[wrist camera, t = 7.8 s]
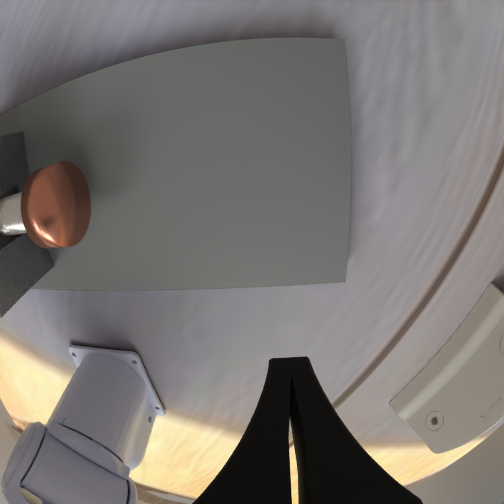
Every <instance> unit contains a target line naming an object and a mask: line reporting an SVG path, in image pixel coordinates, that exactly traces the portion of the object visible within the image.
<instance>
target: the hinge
mask: <svg viewBox="0 0 504 504" xmlns="http://www.w3.org/2000/svg"><path fill="white" fill-rule="evenodd" d="M389 404H390V406H391V407H392V409H393V411H394V412H395V414H396V415H397V416H399V417H401V418H403V419H405V420H406V421H407V422H408V423H409V425H410V426H411V427H412V428H413V429H414V431H415V432H416V433H417V434H418V435H419V437H420V438H421V439H422V440H423V441H424V443H425V444H426V445H427V446H428V447H429V449H430V450H431V451H432V452H434V453H443V452H446V451H449V450H452V449H455V448H457V447H460V446H462V445H464V444H466V443H468V442H470V441H472V440H474V439H476V438H477V437H479V436H481V435H482V434H484V433H485V432H487V431H488V430H489V429H491V428H492V427H493V426H494V425H496V424H497V423H498V422H499V421H500V420H501V419H502V418H503V417H504V293H502V292H501V291H500V290H499V289H498V288H497V287H496V286H495V285H494V284H492V283H490V284H489V286H488V287H487V289H486V290H485V292H484V293H483V295H482V296H481V298H480V299H479V300H478V302H477V303H476V305H475V306H474V308H473V309H472V310H471V312H470V313H469V314H468V316H467V317H466V318H465V320H464V321H463V322H462V324H461V325H460V326H459V328H458V329H457V330H456V331H455V333H454V334H453V335H452V336H451V338H450V339H449V340H448V341H447V342H446V344H445V345H444V346H443V347H442V348H441V350H440V351H439V352H438V353H437V354H436V355H435V356H434V358H433V359H432V360H431V361H430V362H429V363H428V364H427V365H426V366H425V367H424V369H423V370H422V371H421V372H420V373H419V374H418V375H417V376H416V377H415V378H414V379H413V380H412V381H411V382H410V383H409V384H408V385H407V386H406V387H405V388H404V389H403V390H402V391H401V392H400V393H399V394H398V395H397V396H396V397H395V398H394V399H392V400H391V401H390V402H389Z"/></svg>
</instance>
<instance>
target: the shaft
mask: <svg viewBox="0 0 504 504" xmlns="http://www.w3.org/2000/svg"><path fill="white" fill-rule="evenodd" d="M90 216H91V198H90V192H89V187H88V184H87V181H86V179H85V177H84V175H83V173H82V172H81V170H80V169H79V168H78V167H77V166H76V165H75V164H73V163H71V162H69V161H61V162H58V163H54V164H51V165H48V166H44V167H41V168H39V169H36V170H35V171H34V172H33V173H32V174H31V175H30V176H29V177H28V179H27V180H26V182H25V185H24V187H23V191H22V192H19V193H16V194H12V195H9V196H6V197H3V198H0V237H3V236H9V235H16V234H22V233H27V234H28V235H29V237H30V238H31V240H32V241H33V242H34V243H35V244H37V245H38V246H40V247H42V248H59V247H70V246H74V245H76V244H78V243H79V242H80V241H81V240H82V239H83V237H84V236H85V234H86V232H87V229H88V226H89V222H90Z"/></svg>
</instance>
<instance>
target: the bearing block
mask: <svg viewBox="0 0 504 504" xmlns="http://www.w3.org/2000/svg"><path fill="white" fill-rule="evenodd" d="M29 176H30V173H29V167H28V161H27V155H26V148H25V141H24V132H23V131H22V132H17V133H12V134H8V135H3V136H0V198H3V197H6V196H9V195H12V194H16V193H19V192H22V191H23V187H24V185H25V182H26V180H27V179H28V177H29ZM53 267H54V264H53V261H52V258H51V255H50V252H49V249H48V248H42V247H40V246H38V245H37V244H35V243H34V242H33V241H32V240H31V238H30V237H29V235H28V234H27V233H22V234H16V235H9V236H3V237H0V317H1V318H2V317H3V316H4V315H5V313H6V312H7V311H8V310H9V309H10V308H11V307H12V306H13V305H14V304H15V303H16V302H17V301H18V300H19V299H20V298H21V297H22V296H23V295H24V294H25V293H26V292H27V291H28V290H29V289H30V288H31V287H32V286H33V285H35V284H36V283H37V282H38V281H39V280H40V279H41V278H42V277H43V276H44V275H45V274H46V273H47V272H48V271H50V270H51V269H52V268H53Z"/></svg>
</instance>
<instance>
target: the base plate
mask: <svg viewBox="0 0 504 504" xmlns="http://www.w3.org/2000/svg"><path fill="white" fill-rule="evenodd" d="M22 131H23V132H24V141H25V148H26V155H27V161H28V167H29V173H30V175H31V174H32V173H33V172H34V171H35V170H36V169H39V168H41V167H44V166H48V165H51V164H54V163H58V162H61V161H69V162H71V163H73V164H75V165H76V166H77V167H78V168H79V169H80V170H81V172H82V173H83V175H84V177H85V179H86V181H87V184H88V187H89V192H90V198H91V216H90V222H89V226H88V229H87V232H86V234H85V236H84V237H83V239H82V240H81V241H80V242H79V243H78V244H76V245H74V246H70V247H59V248H48V249H49V252H50V255H51V258H52V261H53V264H54V267H53V268H52V269H51V270H50V271H48V272H47V273H46V274H45V275H44V276H43V277H42V278H41V279H40V280H39V281H38V282H37V283H36V284H35V285H33V286H32V287H31V288H30V289H52V290H183V289H220V288H247V287H270V286H289V285H307V284H323V283H339V282H346V272H347V260H348V247H349V230H350V207H351V122H350V101H349V85H348V72H347V61H346V51H345V42H344V39H330V38H303V37H287V38H259V39H245V40H234V41H225V42H217V43H209V44H203V45H196V46H190V47H185V48H180V49H175V50H170V51H165V52H161V53H156V54H152V55H148V56H144V57H140V58H136V59H133V60H129V61H126V62H122V63H119V64H116V65H113V66H110V67H107V68H104V69H101V70H98V71H95V72H92V73H89V74H87V75H84V76H81V77H79V78H76V79H74V80H71V81H69V82H66V83H64V84H62V85H59V86H57V87H55V88H52V89H50V90H48V91H46V92H44V93H42V94H40V95H37V96H35V97H33V98H31V99H29V100H27V101H26V102H24V103H22V104H20V105H18V106H16V107H14V108H12V109H11V110H9V111H7V112H5V113H4V114H2V115H0V136H3V135H8V134H12V133H17V132H22Z"/></svg>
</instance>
